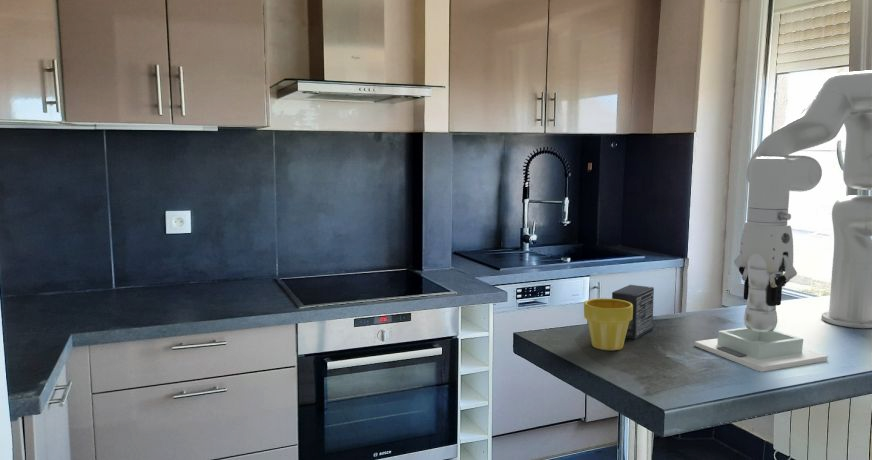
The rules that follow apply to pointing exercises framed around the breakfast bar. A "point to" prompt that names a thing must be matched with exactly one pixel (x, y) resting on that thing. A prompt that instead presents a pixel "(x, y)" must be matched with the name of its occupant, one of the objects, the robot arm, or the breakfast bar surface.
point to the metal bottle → (759, 297)
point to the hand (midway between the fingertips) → (761, 301)
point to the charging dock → (761, 349)
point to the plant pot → (608, 322)
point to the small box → (638, 308)
